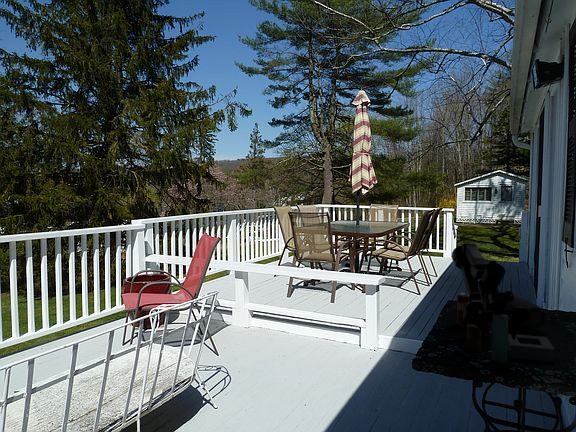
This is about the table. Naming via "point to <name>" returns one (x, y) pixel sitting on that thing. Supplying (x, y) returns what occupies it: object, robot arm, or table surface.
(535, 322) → the dark curved piece
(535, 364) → the table surface
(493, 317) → the long peg
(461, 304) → the soda can
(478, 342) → the short peg
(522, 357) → the socket block
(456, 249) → the robot arm
